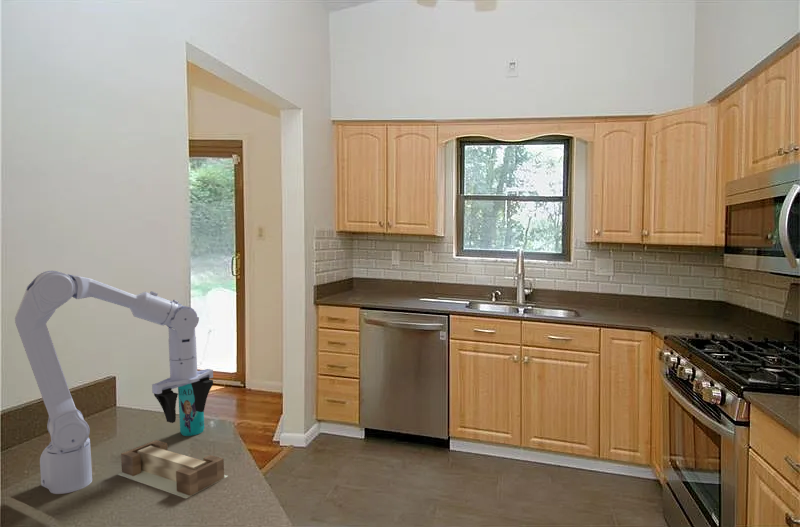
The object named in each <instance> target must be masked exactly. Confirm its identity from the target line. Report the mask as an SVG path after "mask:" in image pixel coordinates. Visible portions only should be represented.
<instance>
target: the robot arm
mask: <svg viewBox="0 0 800 527" xmlns="http://www.w3.org/2000/svg"><path fill="white" fill-rule="evenodd" d="M158 294H159V293H158V292H155V291H150V292H147V291H143V292H141V293H139V294H134V293H131V292H129V291H125V290H124V289H120V288H117V287H115V286H112V285H110V284H107V283H105V282H101V281H99V280H96V279H93V278H89V277H86V276H85V277H84V276H79V275H74V274H69V273H66V272H65V273H64V272H61V271H58V270H47V271H43V272H41V273H40V274H38V275H36V277H35V278H34V279H33V280H32V281H31V282H29V284H28V285H27V286H26V289H25V292H24V295H23V297H22V300H21V302H20V304H19V307H18V309H17V312H16V314H15V316H14V323H15V326H16V328H17V332H18V335H19V337H20V339H21V343H22V345H23V348H24V351H25V354H26V357H27V359H28V362H29V364H30V367H31V370H32V373H33V376H34V379H35V381H36V384H37V387H38V390H39V392H40V395H41V397H42V400H43V404H44V406H45V408H46V411H47V414H48V420H47V422H46V423H47V424H46V425H47V426H46V427H47V428H46V429H47V431H48V433H49V435H50V440H51V441H50V442H49V444H48V445H47V446H46V447H45V448H44V449H43V450H42V453H41V454H40V458H39V468H40V470H39V471H40V485H41V487H43V488H46V489H48V490H49V492H50V493H51V494H54V495H61V494H69V493H72V492H76V491H80V490H82V489H84V488H86V487H88V486H89V485H90V484H91V483H92V482H93V469H92V468H93V466H92V454H91V453H92V452H91V450H92V449H91V439H90V437H89V436H90V425H89V424H88V422H87V421H86V420H85V419H84V418H85V417H84V415H83V413H82V411H81V410H79V409H77V407H76V405H75V402H74V399H73V397H72V394H71V392H70V389H69V385H68V383H67V380H66V379H67V378H66V377H65V374H64V371H63V369H62V366H61V362H60V360H59V358H58V355H57V351H56V349H55V346H54V343H53V340H52V337H51V335H50V331H49V328H48V326H47V323H48V321H49V320H50V319H51V317H52V316H53V315H54V313H56V310H57V309H59V308H60V307H62V306H63V305H64V304H66V303H67V302H68V301H69V300H71V299H72V298H73V299H76V300H80V299H81V300H82V299H87V298H94V299H98V300H100V301H105V302H108V303H111V304H114V305H118V306H120V307H123V308H124V307H125V308H127V309H129V310H130V311H131V313H132V315H133V317H134V318H137V319H141V320H144V321H147V322H151V323H153V324H156V325H160V326H167V328H168V353H169V354H168V356H169V357H168V358H169V361H168V362H169V374H170V376H169V377H167V378H166V379H163V380H161V381H159V382H156V383H152V384H151V387H152V388H151V389H152V390H151V391H152V394H153V396H154V397H155V399H156V400H157V401H158V403H159V404H160V407H161V408H162V411H163V413H164V416H165V419H166V422H167V423H171V424H173V423H176V417H177V414H176V411H177V410H176V409H177V408H176V406H177V399H178V392H174V390H173V389H178V387H180V386H184V385H187V384H190V383H191V385H192V388H193V392H194V398H195V409H196V411H198V412H205V407H206V403H207V399H208V396H209V393H210V391H211V389H212V387H213V386H214V380H213V378H214V369H210V368H206V369H202V370H198V358H197V357H198V356H197V337H196V327H197V326H198V324H199V321H200V317H198V314H197V311H195V309H194V308H192V307H191V306H189V305H188V306H187V305H184V304H182V303H179V301H178V300H176V299H173V300H171V299H170V300H169V299H166V298H164V297H162V296H160V295H158Z"/></svg>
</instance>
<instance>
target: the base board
mask: <svg viewBox="0 0 800 527" xmlns="http://www.w3.org/2000/svg"><path fill="white" fill-rule="evenodd" d="M116 475H117V476H121V477H124V478H127V479H129V480H131V481H135V482H138V483H141V484H142V485H143V484H144V485H147V486H149V487H151V488H154V489H158V490H161V491H164V492H166V493H169V494H172V495H175V496H177V497H180V498H183V499H188V498H190V497H191V496H193V495H195V494H197V493H199V492H197V493H195V494H193V495H191V496H189V495H186V494H183V493H181V492H178V491H177V483H176V481H172V480H169V479H166V478H163V477H160V476H157V475H154V474H151V473H148V472H145V471H142V470H141V473H140V474H137V475H135V476H131V475H128V474H126V473H123V472H122V471H121V472H120V473H117V474H116ZM227 477H229V475H226V474H224V478H223V479H222V480H224V479H225V478H227ZM215 484H216V483H214V484H212V485H215ZM212 485H210V486H208V487H206V488H205V489H207V488H209V487H211V486H212Z"/></svg>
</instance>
